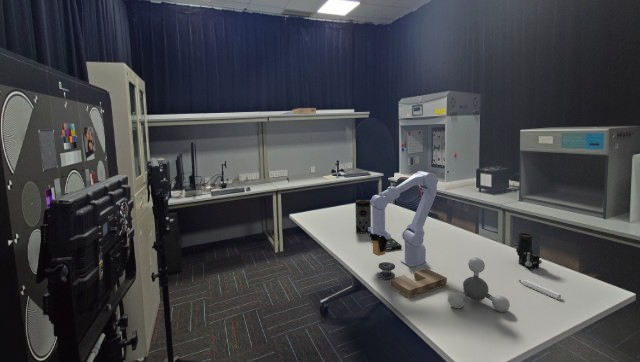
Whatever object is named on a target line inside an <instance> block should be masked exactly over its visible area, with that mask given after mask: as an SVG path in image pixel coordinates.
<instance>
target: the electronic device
mask: <svg viewBox="0 0 640 362" xmlns="http://www.w3.org/2000/svg"><path fill="white" fill-rule="evenodd" d="M370 201H371V199H356V200H355V232H356V233H357V234H371V231H370V232H369V231H368V227H372V205H371V204H370Z"/></svg>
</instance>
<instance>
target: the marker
mask: <svg viewBox="0 0 640 362" xmlns="http://www.w3.org/2000/svg"><path fill="white" fill-rule="evenodd" d="M518 282H520V283H521V284H522V285H523V286H525V287H527V288H529V287H530V289H532V290H534V291H536V290H537V292H539V293H541V294H543V295H545V294H546V296H548V297H550V296H551V297H550V298H552V297H553V298H552V299H555V300H557V299H558V300H560V299H561V298H562V295H561V293H558V292H556V291H553V290H551V289H549V288H546V287H544V286H541V285H539V284H537V283H534V282H532V281H530V280H527V279H523V280H521V279H520V280H519V279H518Z"/></svg>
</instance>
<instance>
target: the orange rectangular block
mask: <svg viewBox="0 0 640 362" xmlns="http://www.w3.org/2000/svg"><path fill="white" fill-rule="evenodd" d="M372 254H374V255H375V256H383V255H386V251H383V252H380V249H379V242H378V240H374V241H373V243H372Z"/></svg>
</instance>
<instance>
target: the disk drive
mask: <svg viewBox="0 0 640 362" xmlns="http://www.w3.org/2000/svg"><path fill="white" fill-rule="evenodd" d="M402 247H403V245H402V244H401V243H399V242H398V241H396V240H395V239H394V238H393V237H391V239H389V240H388V242H387V244H386V247H385V252H389V250H390V251H397V250H402Z"/></svg>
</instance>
